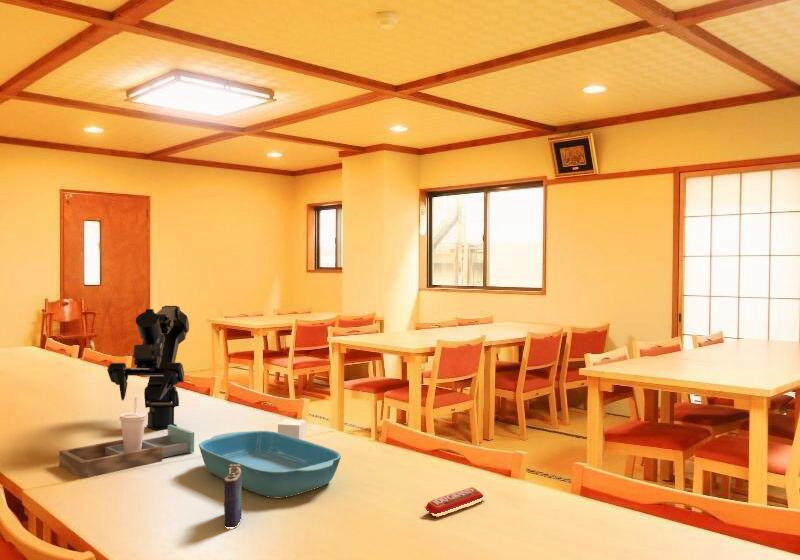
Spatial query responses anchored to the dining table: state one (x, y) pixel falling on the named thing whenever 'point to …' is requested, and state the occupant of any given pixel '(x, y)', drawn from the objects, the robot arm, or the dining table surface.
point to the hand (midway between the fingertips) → (140, 399)
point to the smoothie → (133, 429)
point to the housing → (105, 459)
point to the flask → (232, 496)
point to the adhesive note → (293, 428)
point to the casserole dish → (271, 461)
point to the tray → (163, 443)
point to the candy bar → (453, 500)
